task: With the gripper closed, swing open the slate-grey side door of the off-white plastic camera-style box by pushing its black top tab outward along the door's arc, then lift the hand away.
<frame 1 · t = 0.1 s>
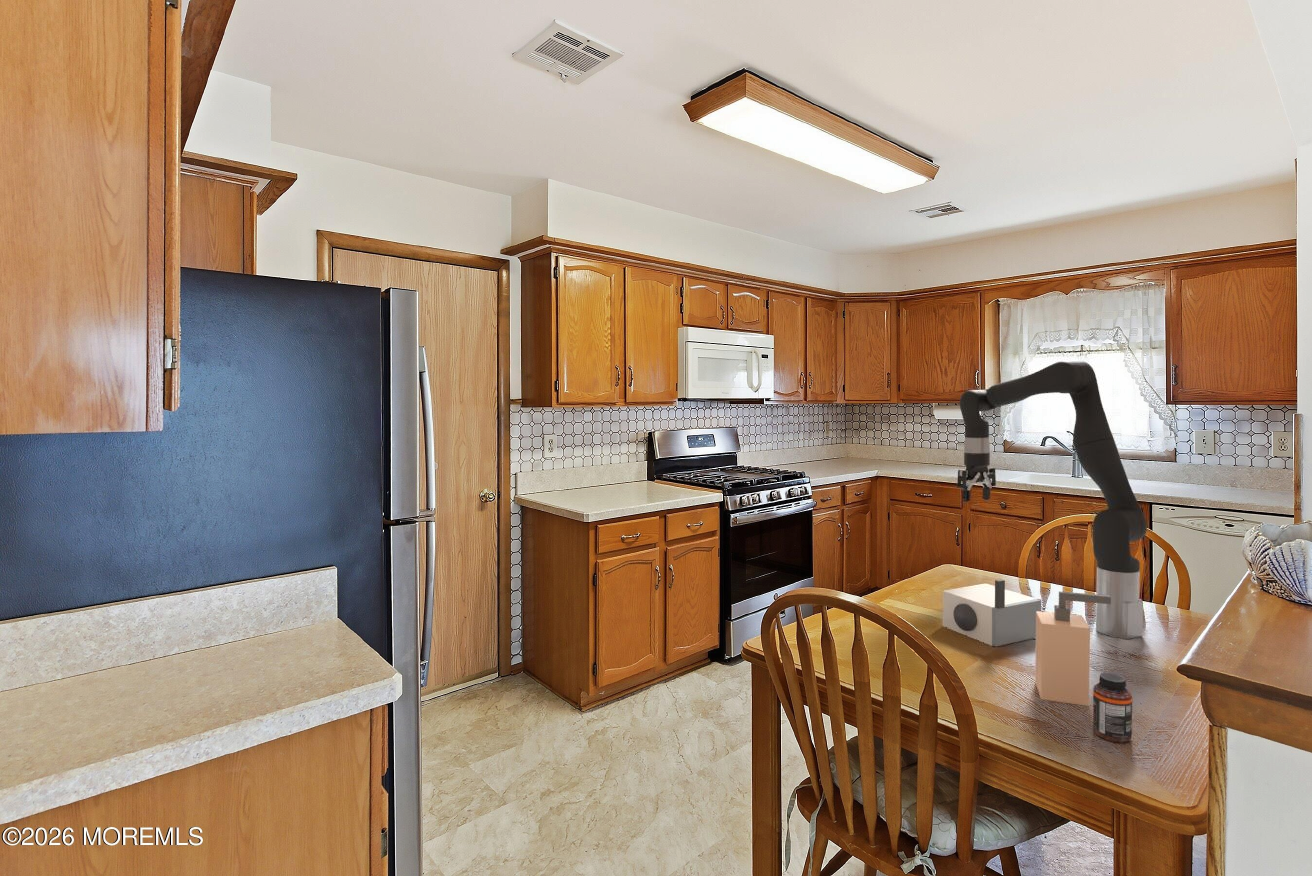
hand: (976, 500, 212), 29 cm above the table, tool pointing down, fingers open, 8 cm apart
supplement bottle: (1111, 736, 121), on the table
camera box: (988, 631, 176), on the table
side door: (1018, 608, 167), point 9 cm above the table, hinge at 0.0°
soap dispenser: (1072, 696, 137), on the table
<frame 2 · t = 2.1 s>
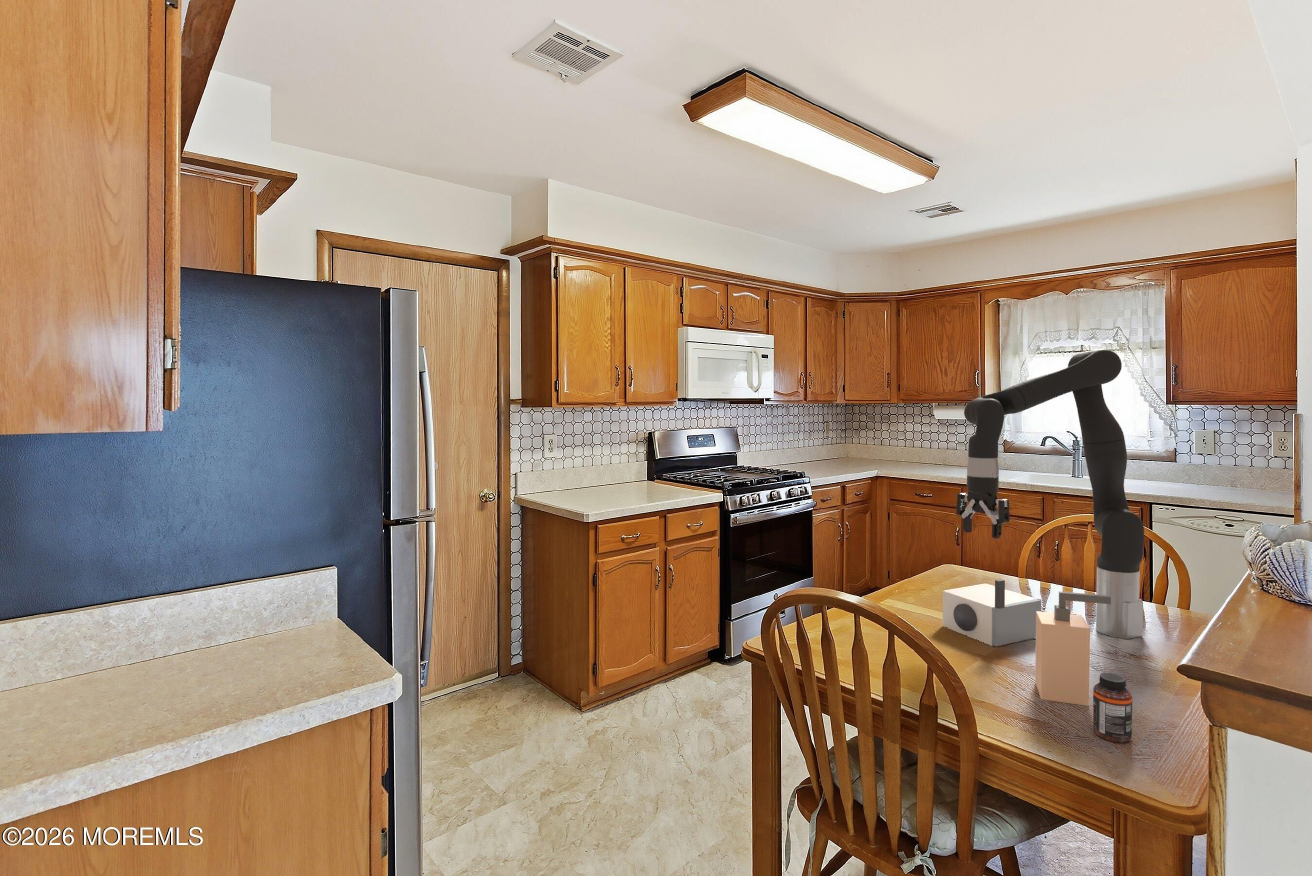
hand: (981, 535, 172), 27 cm above the table, tool pointing down, fingers open, 8 cm apart
nothing on the table moved.
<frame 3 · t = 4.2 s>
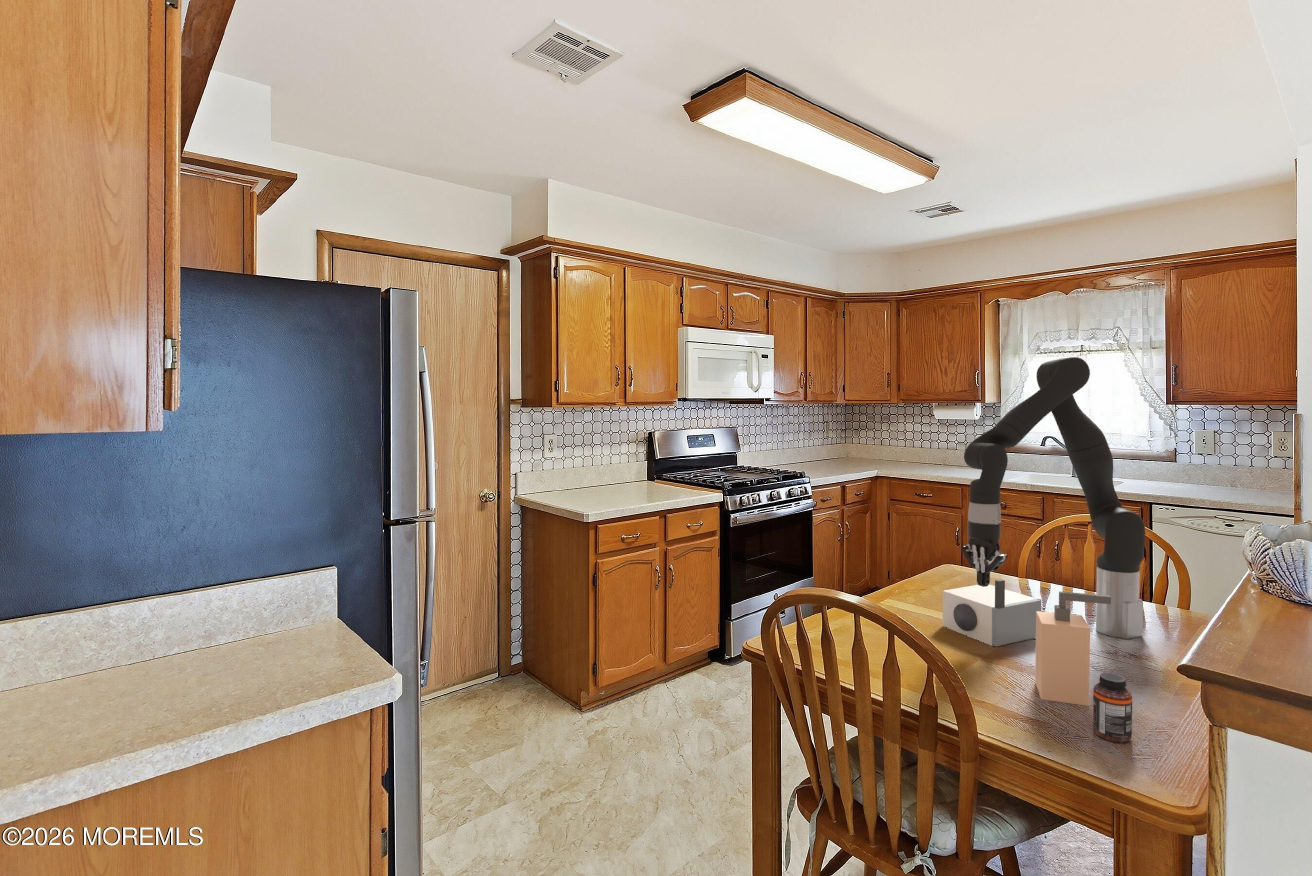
hand: (983, 585, 169), 14 cm above the table, tool pointing down, fingers closed
nothing on the table moved.
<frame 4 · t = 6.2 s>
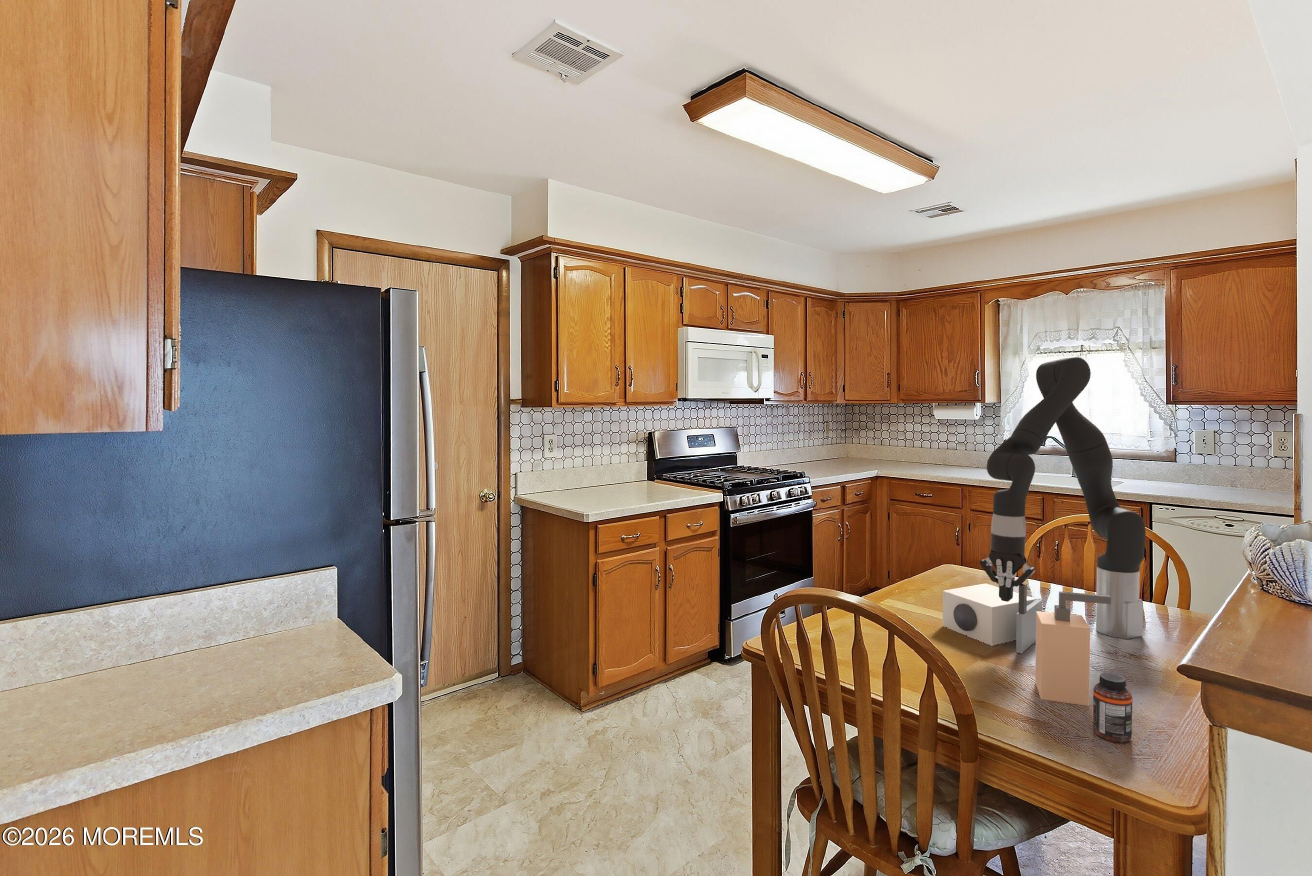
hand: (1005, 600, 163), 12 cm above the table, tool pointing down, fingers closed
side door: (1030, 611, 165), point 9 cm above the table, hinge at 21.9°, touching hand
everything else where it was.
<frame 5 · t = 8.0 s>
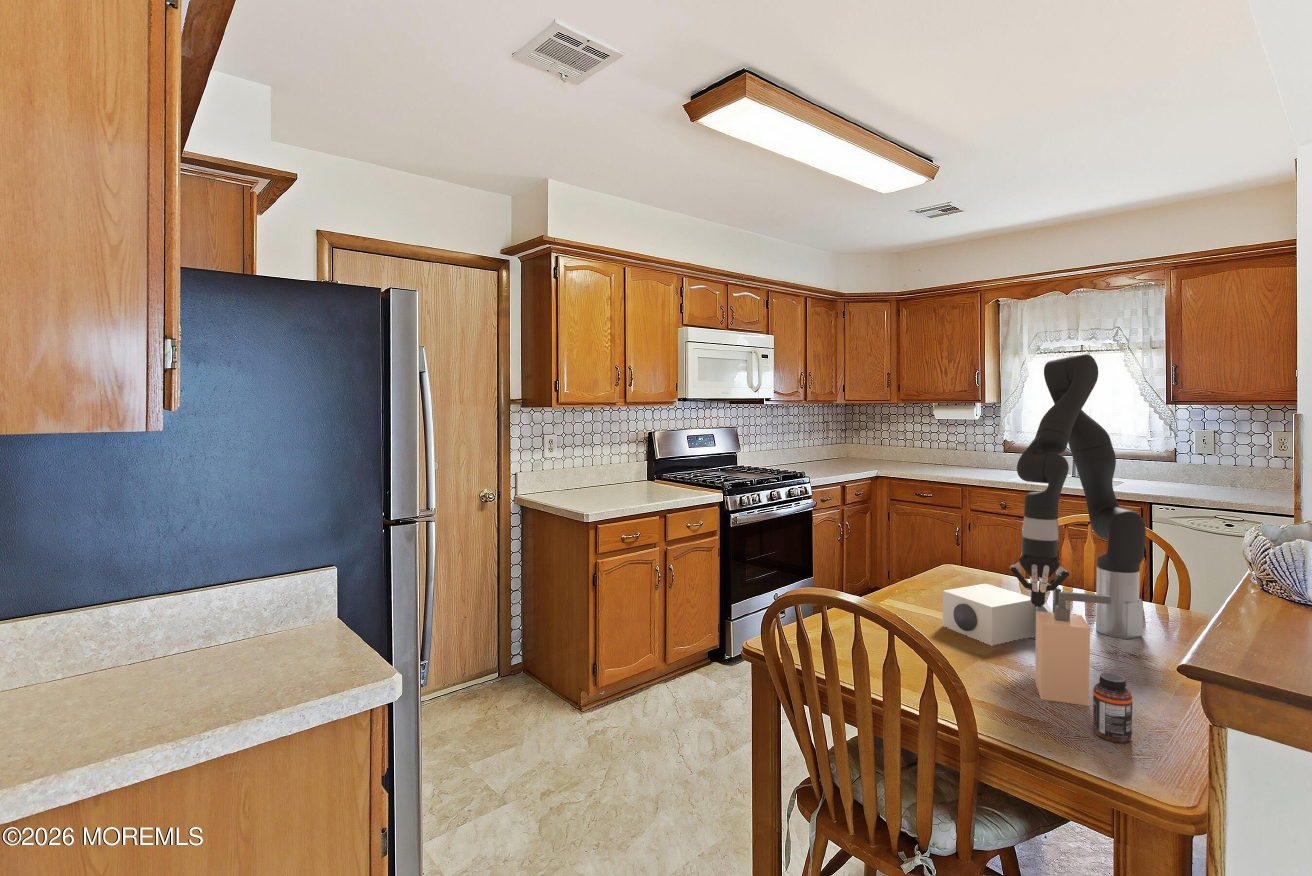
hand: (1037, 606, 158), 12 cm above the table, tool pointing down, fingers closed
side door: (1048, 613, 163), point 9 cm above the table, hinge at 50.4°, touching hand
everything else where it was.
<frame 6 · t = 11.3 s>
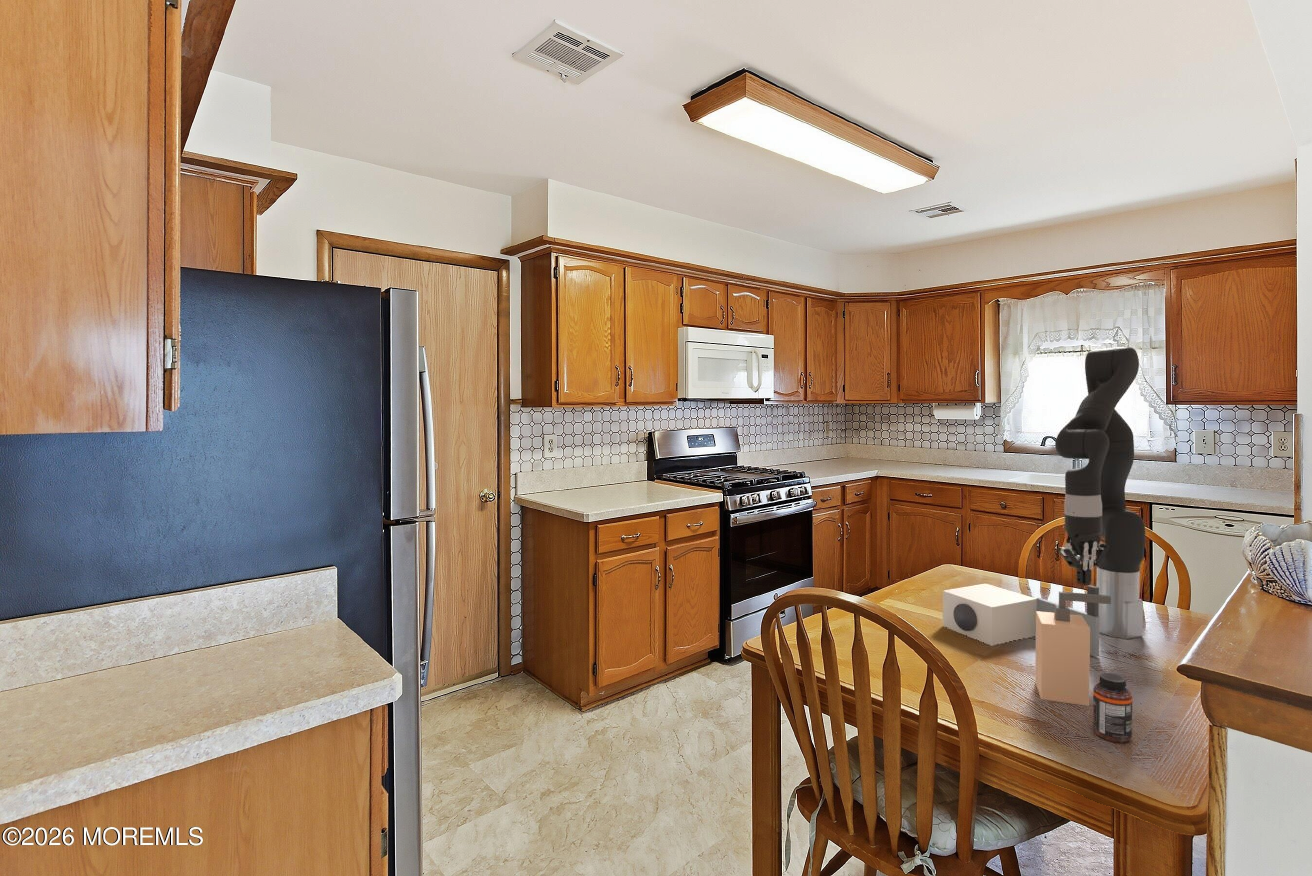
hand: (1084, 584, 155), 18 cm above the table, tool pointing down, fingers closed
side door: (1066, 612, 164), point 9 cm above the table, hinge at 87.3°
everything else where it was.
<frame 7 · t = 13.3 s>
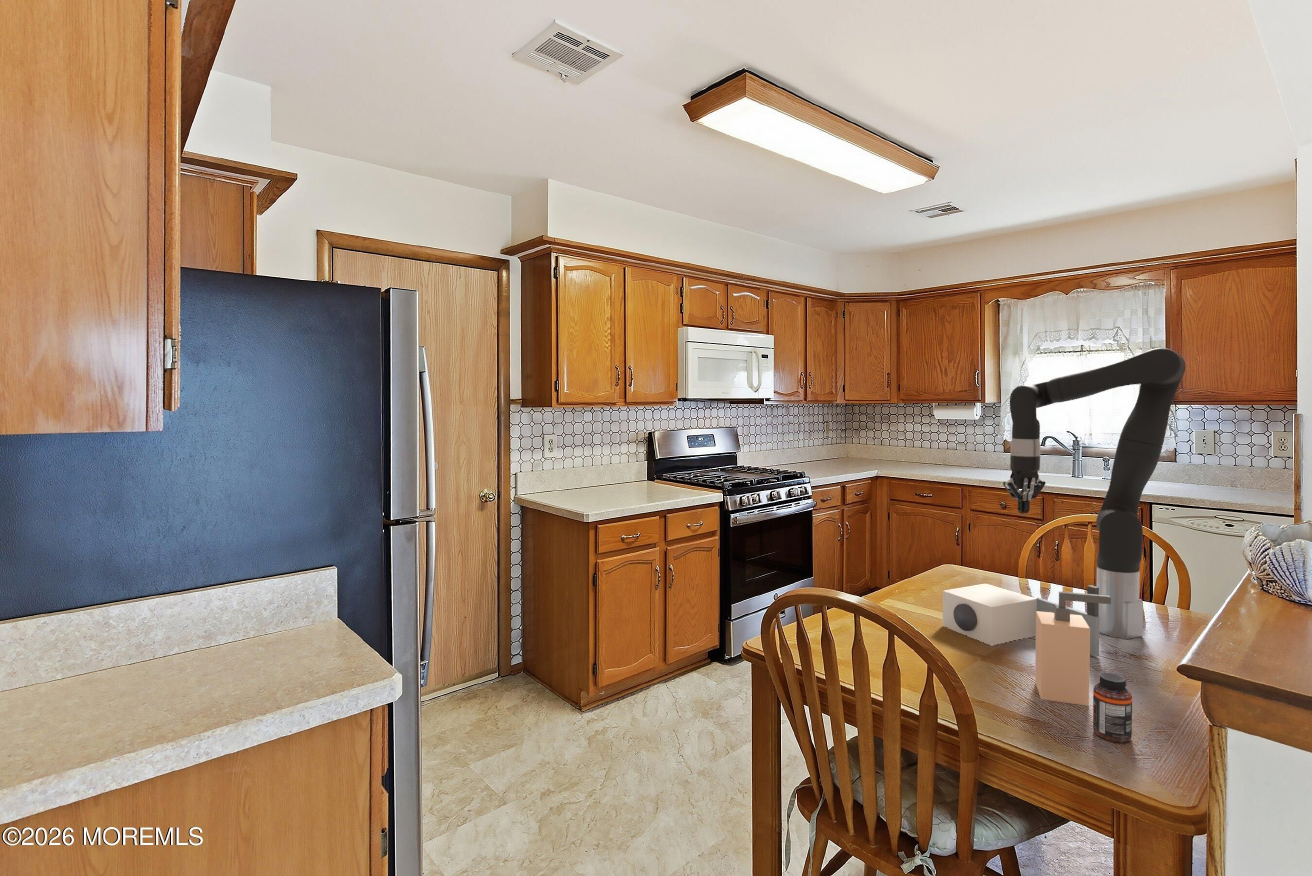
hand: (1023, 513, 189), 29 cm above the table, tool pointing down, fingers closed
nothing on the table moved.
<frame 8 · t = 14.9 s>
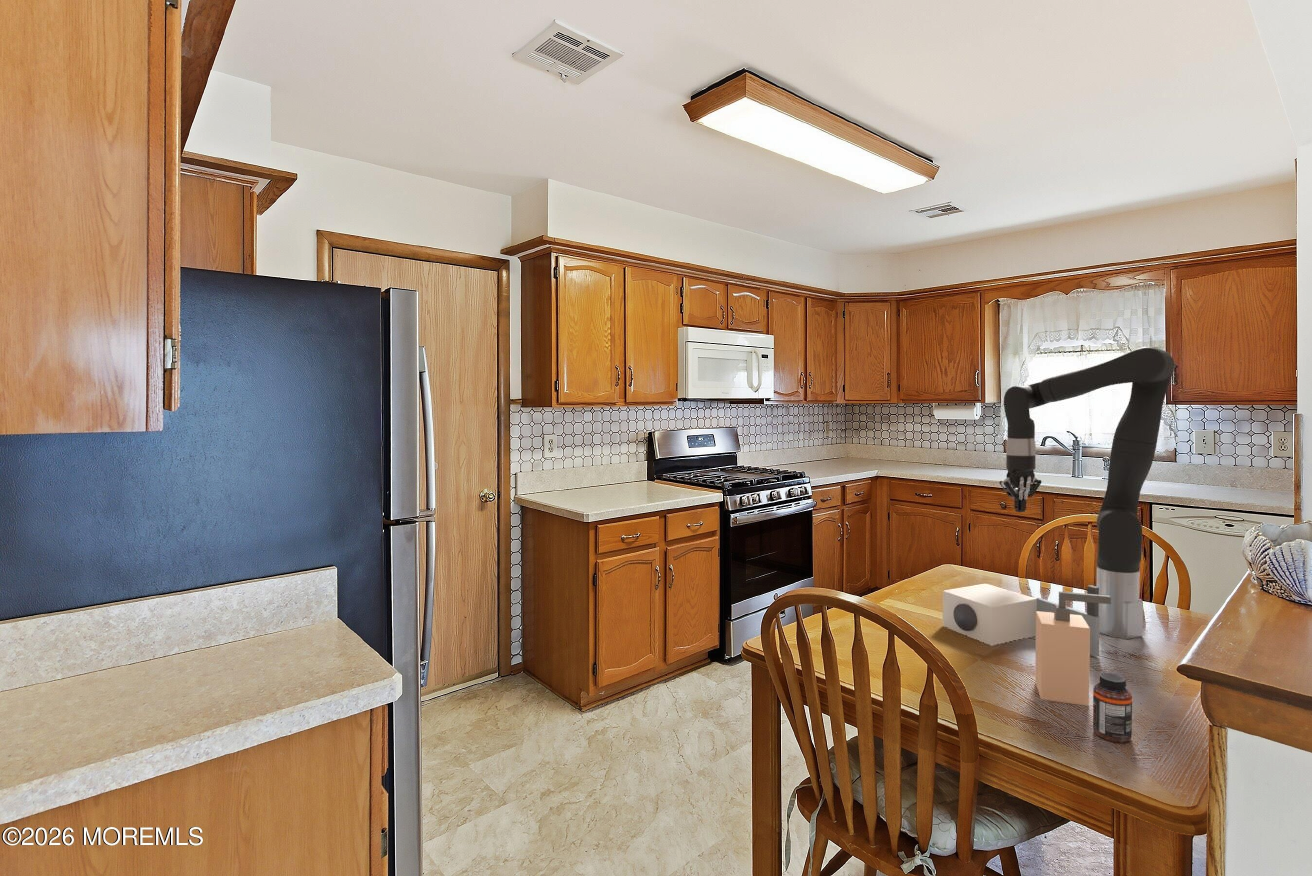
hand: (1020, 511, 192), 29 cm above the table, tool pointing down, fingers closed
nothing on the table moved.
at the end: side door at +87° (first picture: +0°); soap dispenser moved 0.2 cm from its start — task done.
